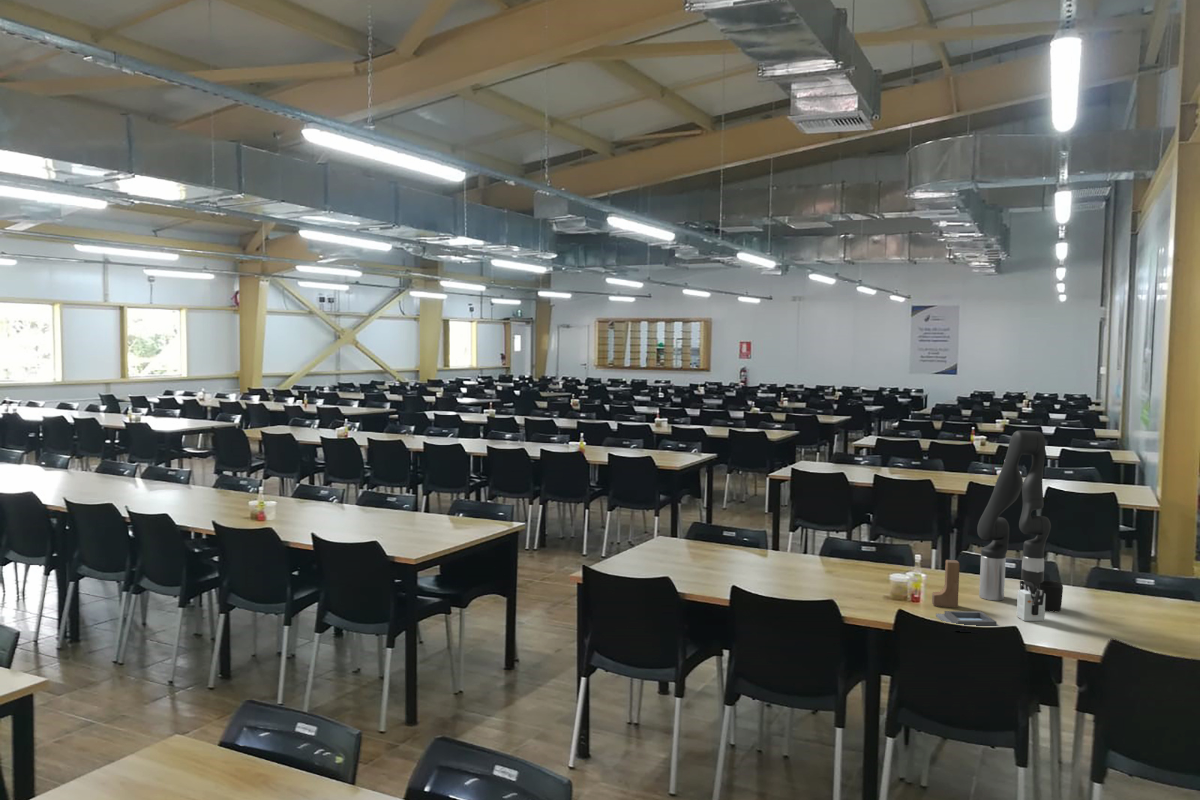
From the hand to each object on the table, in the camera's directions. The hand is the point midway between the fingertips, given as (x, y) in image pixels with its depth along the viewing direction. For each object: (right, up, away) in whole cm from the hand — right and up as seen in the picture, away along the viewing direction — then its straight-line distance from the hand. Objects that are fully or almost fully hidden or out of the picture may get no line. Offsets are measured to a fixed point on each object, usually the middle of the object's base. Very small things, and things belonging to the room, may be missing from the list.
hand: (1030, 612), depth 319 cm
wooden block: (-26, -2, +16) cm, 30 cm away
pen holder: (+14, -2, +14) cm, 20 cm away
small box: (0, -3, 0) cm, 3 cm away
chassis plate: (-26, -3, -7) cm, 27 cm away
